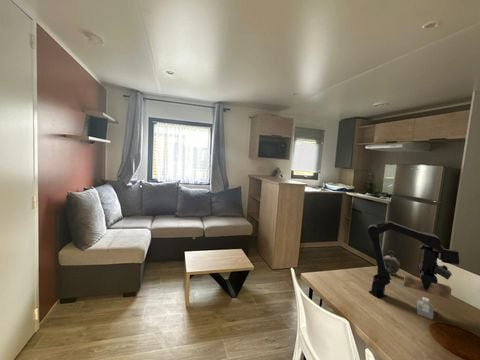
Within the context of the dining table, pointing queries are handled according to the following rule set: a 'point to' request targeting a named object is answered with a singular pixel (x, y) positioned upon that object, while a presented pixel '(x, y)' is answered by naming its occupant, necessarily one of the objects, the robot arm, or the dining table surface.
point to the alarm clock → (392, 263)
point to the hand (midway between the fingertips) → (425, 288)
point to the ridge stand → (425, 308)
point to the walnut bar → (433, 289)
